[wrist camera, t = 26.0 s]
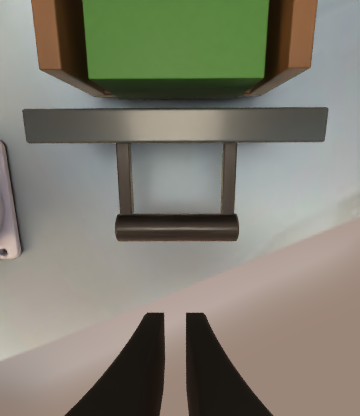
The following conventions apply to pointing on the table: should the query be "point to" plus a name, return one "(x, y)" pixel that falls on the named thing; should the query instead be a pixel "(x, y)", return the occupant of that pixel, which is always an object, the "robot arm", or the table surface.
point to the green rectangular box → (176, 47)
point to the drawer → (174, 115)
